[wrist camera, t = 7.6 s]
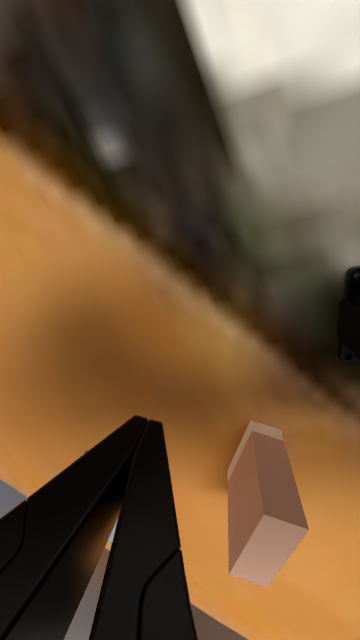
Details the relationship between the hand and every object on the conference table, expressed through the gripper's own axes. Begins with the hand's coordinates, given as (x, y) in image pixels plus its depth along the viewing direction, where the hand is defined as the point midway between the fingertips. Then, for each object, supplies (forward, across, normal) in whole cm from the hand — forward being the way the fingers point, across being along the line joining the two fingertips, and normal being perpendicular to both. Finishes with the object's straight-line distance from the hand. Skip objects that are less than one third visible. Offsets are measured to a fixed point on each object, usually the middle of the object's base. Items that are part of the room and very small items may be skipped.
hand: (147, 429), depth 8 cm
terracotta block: (+12, -8, +11) cm, 18 cm away
